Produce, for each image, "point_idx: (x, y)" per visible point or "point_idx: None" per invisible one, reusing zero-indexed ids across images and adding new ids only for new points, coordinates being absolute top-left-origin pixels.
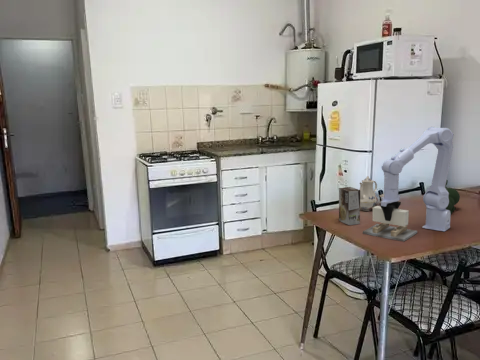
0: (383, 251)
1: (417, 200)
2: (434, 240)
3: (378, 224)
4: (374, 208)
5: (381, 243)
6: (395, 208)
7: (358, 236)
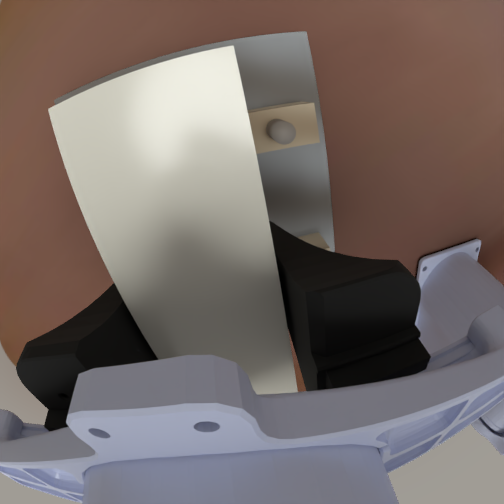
0: (16, 340)
1: None
2: None
3: (296, 46)
4: (61, 141)
5: (46, 288)
6: (296, 347)
7: (10, 134)
